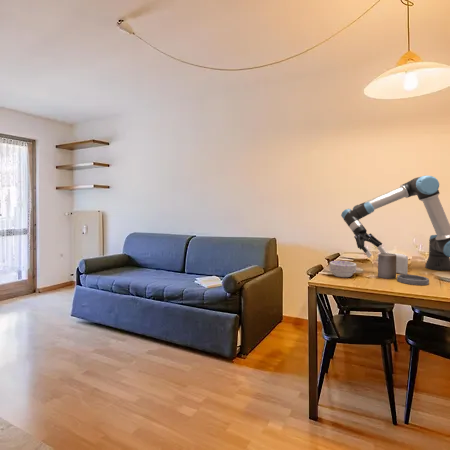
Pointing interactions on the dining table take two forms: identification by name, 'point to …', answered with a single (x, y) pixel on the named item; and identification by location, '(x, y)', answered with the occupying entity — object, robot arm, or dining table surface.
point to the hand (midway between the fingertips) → (377, 255)
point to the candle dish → (413, 279)
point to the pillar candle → (387, 265)
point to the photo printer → (401, 263)
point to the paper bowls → (342, 268)
